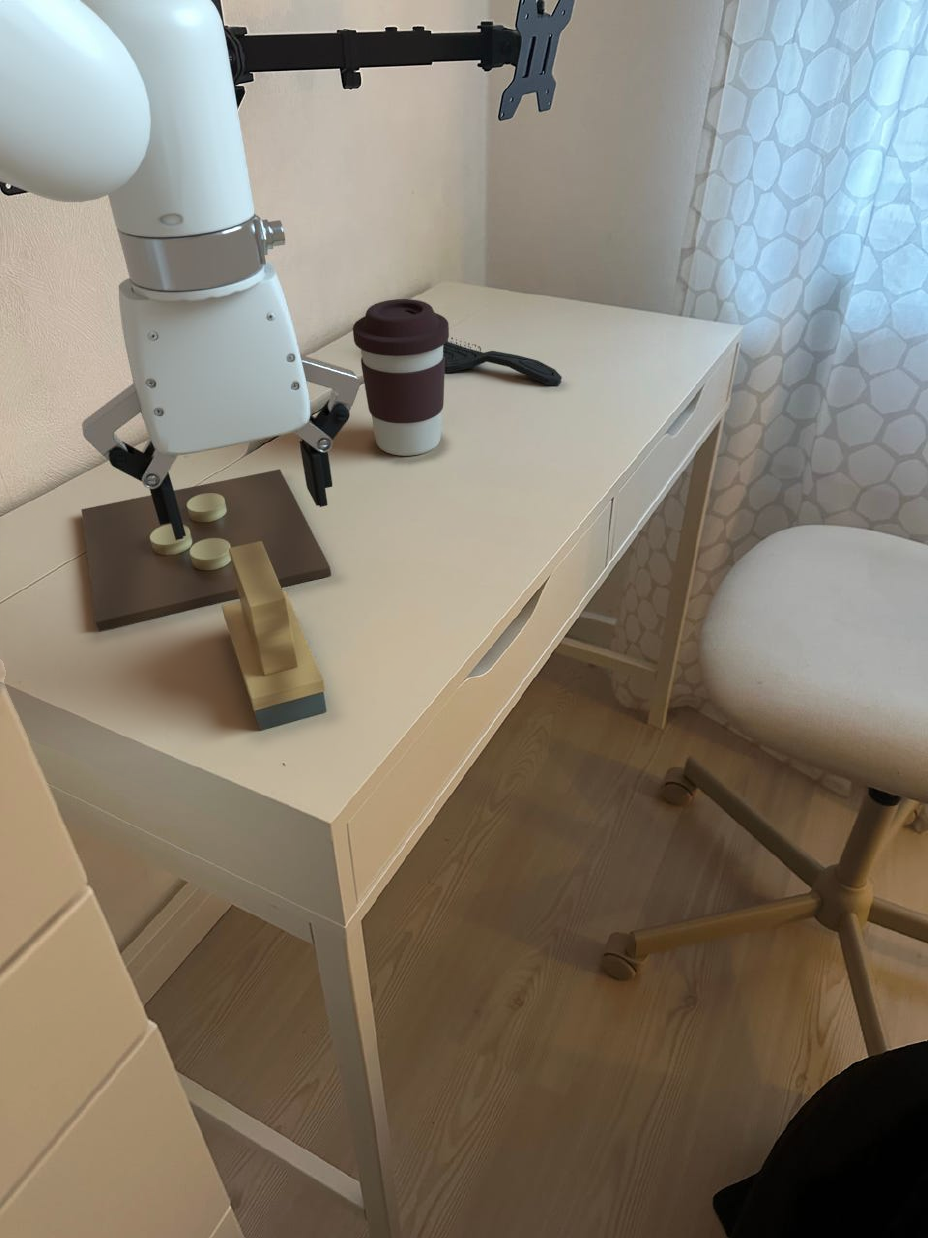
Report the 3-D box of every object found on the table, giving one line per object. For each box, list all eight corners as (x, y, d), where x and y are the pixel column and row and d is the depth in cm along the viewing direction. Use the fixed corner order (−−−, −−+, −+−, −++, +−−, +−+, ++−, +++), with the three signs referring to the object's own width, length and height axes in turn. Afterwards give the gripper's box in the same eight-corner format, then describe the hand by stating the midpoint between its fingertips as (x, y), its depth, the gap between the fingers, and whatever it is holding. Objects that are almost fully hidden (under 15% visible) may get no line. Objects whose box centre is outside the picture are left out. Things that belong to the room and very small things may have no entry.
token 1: (155, 559, 81) (151, 548, 80) (150, 539, 84) (147, 528, 83) (195, 550, 82) (192, 539, 81) (189, 531, 85) (186, 520, 84)
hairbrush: (547, 374, 108) (375, 331, 117) (545, 403, 110) (376, 358, 119) (575, 351, 113) (409, 312, 123) (572, 379, 116) (409, 338, 125)
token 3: (195, 574, 79) (192, 563, 78) (189, 553, 82) (186, 542, 81) (235, 565, 80) (233, 553, 79) (228, 545, 83) (226, 534, 82)
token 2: (192, 525, 85) (189, 514, 85) (186, 508, 88) (184, 497, 87) (229, 517, 86) (227, 506, 86) (223, 500, 89) (221, 489, 88)
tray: (98, 631, 74) (95, 622, 74) (84, 517, 89) (81, 508, 88) (331, 575, 80) (330, 566, 79) (281, 477, 95) (280, 468, 94)
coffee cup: (369, 467, 96) (356, 329, 87) (360, 428, 104) (346, 297, 95) (460, 457, 97) (456, 320, 88) (444, 419, 105) (438, 289, 96)
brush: (258, 731, 65) (235, 628, 59) (228, 636, 73) (205, 538, 68) (328, 711, 66) (312, 609, 60) (290, 620, 75) (273, 523, 69)
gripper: (324, 218, 56) (354, 462, 66) (31, 258, 51) (114, 515, 62) (359, 249, 50) (386, 510, 61) (34, 298, 46) (124, 572, 56)
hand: (249, 512), depth 61 cm, fingers open, 9 cm apart
